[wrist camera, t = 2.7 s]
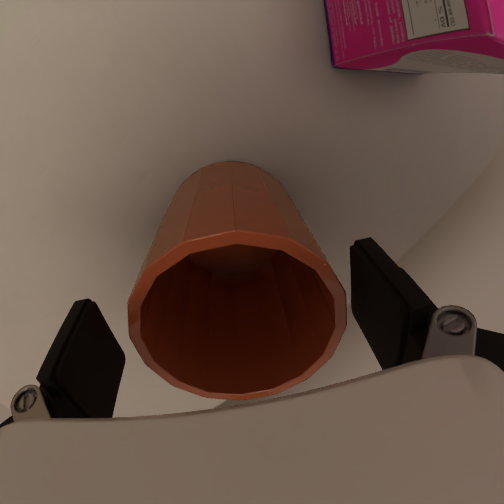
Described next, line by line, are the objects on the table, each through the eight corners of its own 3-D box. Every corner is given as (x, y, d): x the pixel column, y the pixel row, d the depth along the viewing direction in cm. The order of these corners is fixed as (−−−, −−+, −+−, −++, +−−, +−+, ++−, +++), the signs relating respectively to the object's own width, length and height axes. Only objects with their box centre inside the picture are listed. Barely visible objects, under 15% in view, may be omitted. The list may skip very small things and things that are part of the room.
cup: (281, 149, 16) (341, 207, 8) (299, 262, 19) (346, 377, 11) (154, 178, 16) (91, 262, 8) (188, 285, 19) (173, 409, 11)
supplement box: (409, -14, 11) (560, -55, 1) (421, 75, 14) (593, 98, 4) (315, -28, 11) (433, -139, 1) (329, 69, 14) (496, 52, 4)
